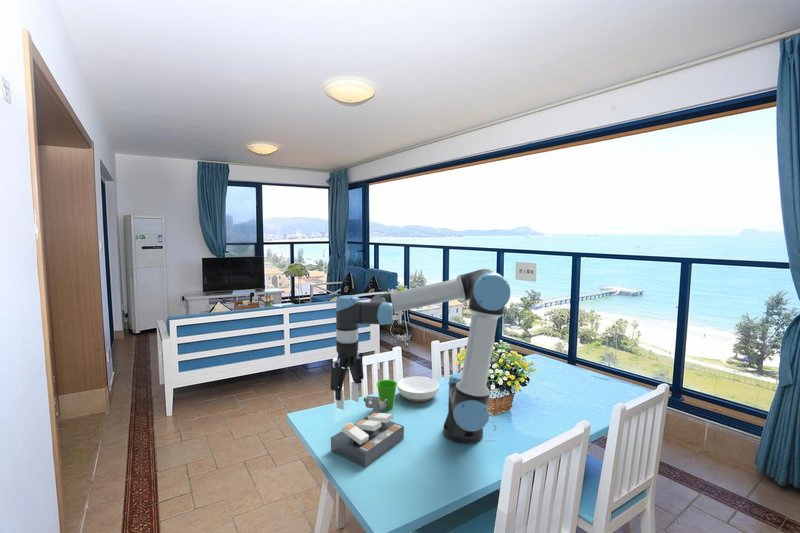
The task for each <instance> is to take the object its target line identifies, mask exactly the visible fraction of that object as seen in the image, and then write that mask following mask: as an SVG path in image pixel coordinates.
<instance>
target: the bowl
mask: <svg viewBox="0 0 800 533" xmlns="http://www.w3.org/2000/svg"><path fill="white" fill-rule="evenodd" d="M396 387H397V390H398V393H399V394H400V395H401V396H402V397H403V398H404V399H406V400H409V401H411V402H415V403H422V402H426V401H429V400H431V399H433V398H434V397H435V396H437V394H438V393H439V391H440V390H439V388H440V384H439V382H438V381H437V380H436V379H433V378H430V377H427V376H421V375H420V376H418V375H417V376H415V375H414V376H407V377H403V378H401V379H399V380H398V382H397V386H396Z"/></svg>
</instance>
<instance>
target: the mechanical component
mask: <svg viewBox="0 0 800 533" xmlns="http://www.w3.org/2000/svg"><path fill="white" fill-rule="evenodd" d="M363 402H364V404H365V408H367V409H373V410H372V412H373V413H380V410H383V409H385V408H386V406H387V404H389V400H387V399H385V401H384V402H382V401H381V400H380V398H379V396H371V395H366V397H363ZM382 405H385V406H382Z"/></svg>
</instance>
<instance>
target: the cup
mask: <svg viewBox="0 0 800 533" xmlns="http://www.w3.org/2000/svg"><path fill="white" fill-rule="evenodd" d="M397 384H398V382H397V381H396V380H392V379H382V380H379V381H377V382H376V386H377V392H378V397H379V398H380V400H381V401H382V402H384V401H385V399H387V400H389V404H387V406H386V408H385V409H382V410H383V411H391V410H392V409H393V406H394V402H395V395H396V390H397V387H398V386H397ZM382 406H385V405H382Z"/></svg>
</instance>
